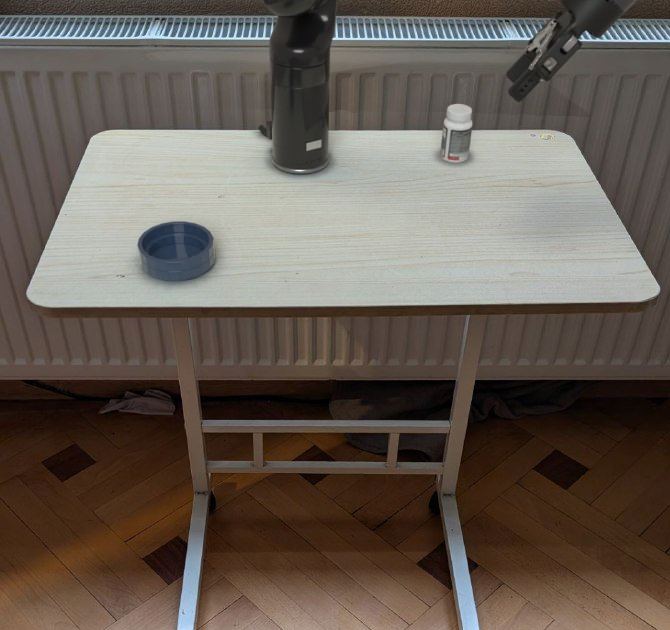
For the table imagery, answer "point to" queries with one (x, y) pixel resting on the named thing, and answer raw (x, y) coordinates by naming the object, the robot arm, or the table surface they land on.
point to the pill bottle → (456, 133)
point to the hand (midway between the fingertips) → (511, 88)
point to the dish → (176, 250)
